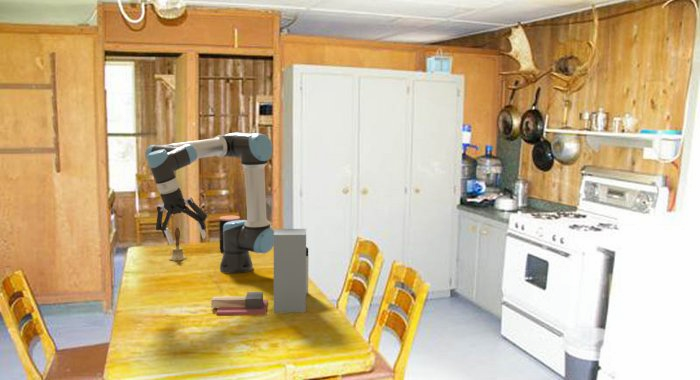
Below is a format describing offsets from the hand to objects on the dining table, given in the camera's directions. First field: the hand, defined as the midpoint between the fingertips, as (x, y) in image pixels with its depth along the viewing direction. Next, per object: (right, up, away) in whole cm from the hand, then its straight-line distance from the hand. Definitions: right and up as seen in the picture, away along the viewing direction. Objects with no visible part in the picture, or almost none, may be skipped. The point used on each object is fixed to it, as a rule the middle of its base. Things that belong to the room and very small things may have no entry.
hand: (188, 240), depth 223 cm
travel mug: (+42, -23, +15) cm, 51 cm away
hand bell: (-23, -15, +64) cm, 69 cm away
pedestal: (+40, -26, -1) cm, 47 cm away
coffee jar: (-1, -13, +80) cm, 81 cm away
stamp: (+20, -25, -3) cm, 32 cm away
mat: (+22, -26, -3) cm, 34 cm away
